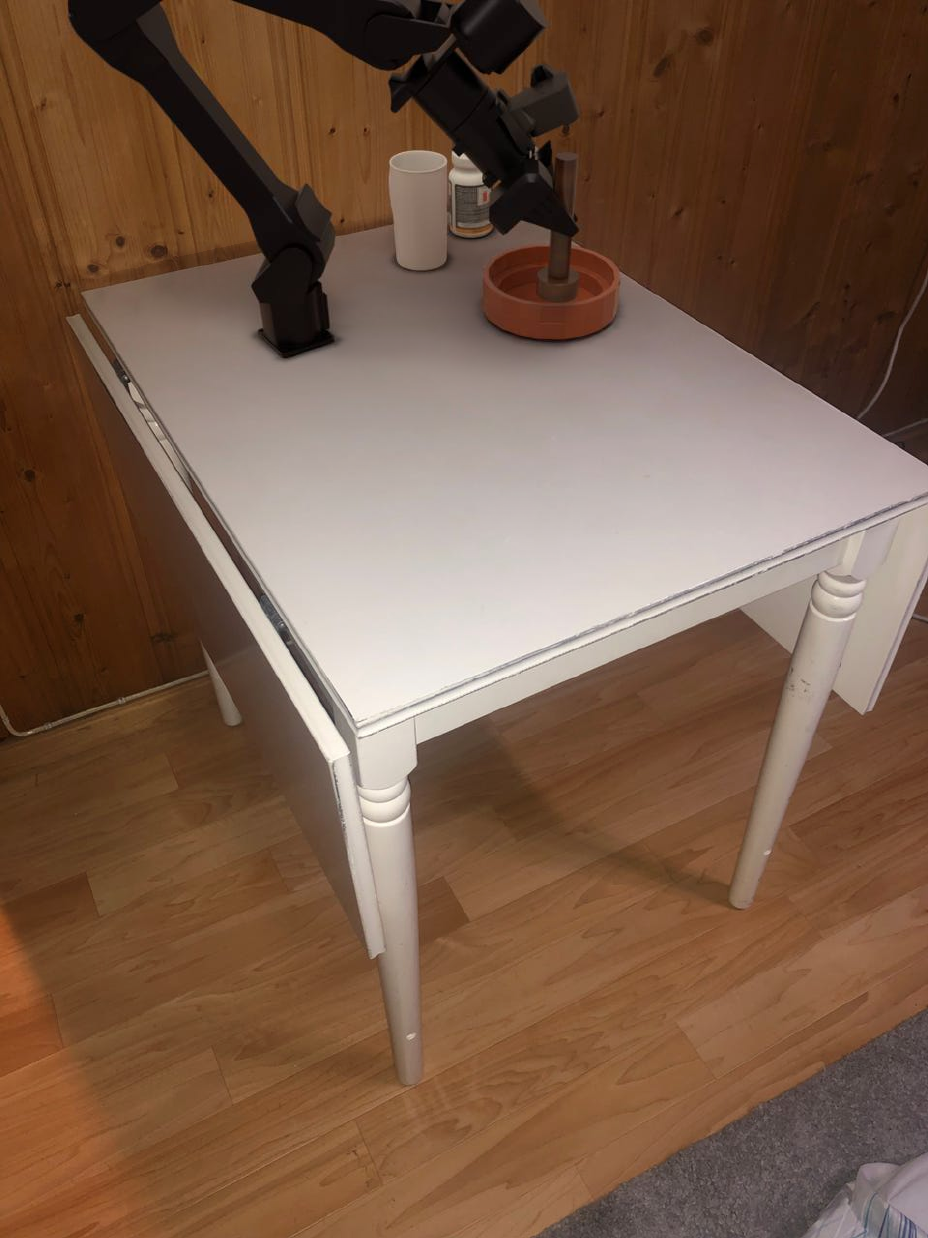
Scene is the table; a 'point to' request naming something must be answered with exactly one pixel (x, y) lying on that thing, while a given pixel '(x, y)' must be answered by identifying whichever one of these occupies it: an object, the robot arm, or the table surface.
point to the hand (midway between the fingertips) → (575, 228)
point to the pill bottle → (468, 199)
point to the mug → (419, 208)
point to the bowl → (528, 315)
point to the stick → (561, 239)
